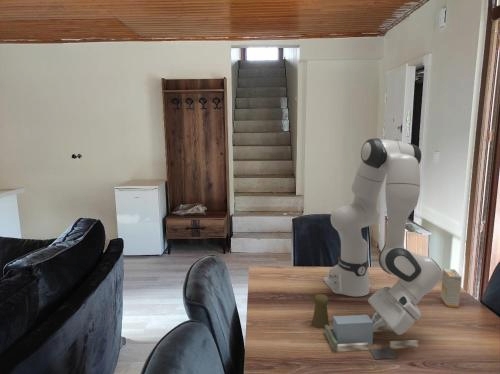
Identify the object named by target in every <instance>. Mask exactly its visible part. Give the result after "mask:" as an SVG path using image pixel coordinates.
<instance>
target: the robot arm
mask: <svg viewBox="0 0 500 374" xmlns="http://www.w3.org/2000/svg"><path fill="white" fill-rule="evenodd" d="M360 157H361V158H360V159H361V161H360V163H359V166H358V169H357V170H356V173H355V177H354V179H353V183H352V185H351V191H352V193H353V194H354V196H353V197H354V199H353V201H352V203H351V204H345V205H342V206H341V205H340V206H339V207H337V208H335V209H334V210H333V211H332V212H331V214H330V223H331V226H332V228H333V229H334V230H336V231H337V234H338V236H339V239H340V256H337V260H338V263H337V264H336V265H334V266H333V267H331V268H329V271H328V275H326V276H325V277H323V281H324V283H325V284H326V285H327V286H328V287H329V289H330V290H331V291H332V292H333V293H334V294H339V295H344V296H348V297H364V296H366V295H368V294H370V289H371V288H372V285H371V284H370V274H369V269H368V268H369V262H368V261H369V260H368V246H369V245H368V242H367V241H366V239H364V238H363V236H362V228H363V229H364V228H367V227H370V226H372V225H373V224H374V223H376V222H378V220H379V218H380V215H381V214H380V209H379V207H378V198H379V196H380V192H381V189H382V186H383V184H384V181H385V204H386V217H387V220H386V232H385V242H384V245H383V248H382V249H381V251H380V252H379V255H378V263H379V266H380V268H381V269H382V271H384V272H385V273H387V274H389V275H392V276H395V277H397V278H398V280H397V282H396V283H395V284H393V286H392V287H391V286H384V287H382V288H380V289H378V290H376V291H375V292H374V293H373V294H372V295H371V296H370V297H368V300H367V302H368V304H370V305H371V307H372V308H373V309H374V310H375V312H374V313H373V316H372V318H371V320H372V321H373V329H374V330H376V329H378V328H379V327H381V326H384V325H387V324H388V325H389V326H390V328H391V329H392V330H393V331H392V332H394V333H395V334H396V335H398V336H400V335H403V334H404V333H406V332H407V331H408V330H410V328H411V327H412V326H413V325H414V323H415V321H416V320H419V319H420V318H421V317H422V314H421V311H420V309H419V307H418V304H419V303H420V302H421V300H422V298H423V297H424V296H425V295H428V294H429V293H431V292H432V290H433V289H434V288H436V286H437V285H438V284H439V282H440V281H441V280H442V274H443V270H442V269H441V267H440V266H439V264H438V263H437V262H436V261H435V260H434V259H433V258H432V257H430V256H424V255H421V254H417V253H415V252H412V251H410V250H408V249H407V248H405V235H406V224H407V222H408V219H409V217H410V215H411V214H412V213H413V212H414V210H415V209H416V208H417V205H418V202H419V197H420V193H421V192H420V191H421V173H420V163H421V161H422V152H421V149H420V148H419V147H418V146H417V145H415V144H413V143H410V142H404V141H401V140H396V139H381V138H370V139H367V140H366V141H365V142H364V144H362V147H361V150H360ZM385 179H386V180H385Z"/></svg>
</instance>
